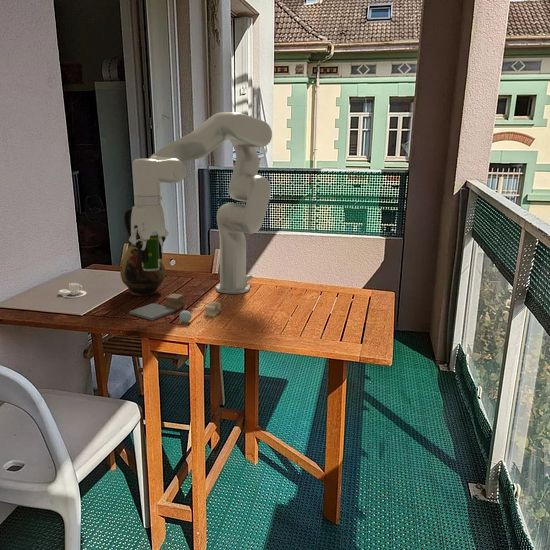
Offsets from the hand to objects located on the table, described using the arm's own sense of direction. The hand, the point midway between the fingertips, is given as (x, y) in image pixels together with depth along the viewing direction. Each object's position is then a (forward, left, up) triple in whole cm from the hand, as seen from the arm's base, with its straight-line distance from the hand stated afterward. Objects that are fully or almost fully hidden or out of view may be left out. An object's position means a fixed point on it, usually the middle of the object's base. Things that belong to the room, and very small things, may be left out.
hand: (150, 259), depth 150 cm
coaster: (0, 0, -17) cm, 17 cm away
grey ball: (0, +14, -15) cm, 21 cm away
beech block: (-11, +15, -17) cm, 26 cm away
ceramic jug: (-13, -19, -17) cm, 29 cm away
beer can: (0, 0, -3) cm, 3 cm away
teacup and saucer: (+2, -39, -18) cm, 42 cm away
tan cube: (-8, +2, -17) cm, 19 cm away
